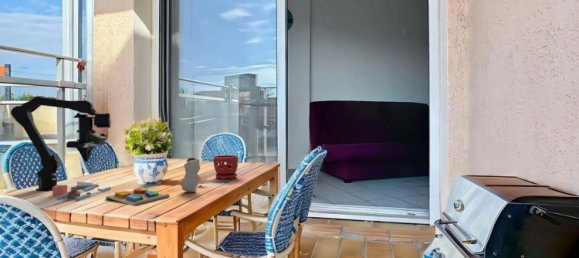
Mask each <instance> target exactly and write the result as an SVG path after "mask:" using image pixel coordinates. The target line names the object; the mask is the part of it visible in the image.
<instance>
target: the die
mask: <svg viewBox="0 0 579 258" xmlns="http://www.w3.org/2000/svg"><path fill="white" fill-rule="evenodd" d="M51 191H52V197H58V196H61V195H64V194H68V185H67V184H57V185H56V186H54V187H52V190H51Z"/></svg>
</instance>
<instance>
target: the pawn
mask: <svg viewBox="0 0 579 258" xmlns="http://www.w3.org/2000/svg"><path fill="white" fill-rule="evenodd" d="M67 194H68V198H67V200H69V199H74V200H75V198H76V197H79V196H81V193H80V191H78V190H76V189H70V191H67Z"/></svg>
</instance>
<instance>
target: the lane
mask: <svg viewBox="0 0 579 258" xmlns="http://www.w3.org/2000/svg"><path fill="white" fill-rule="evenodd" d="M95 188H96V187H95V186H91V187H87V188H80V190H77V191H80V194H83V193H85V194H83V195H80V196H79V197H76V198H75V199H74V201H76V202H77V201H81V200H85V199H87V198H91V197H94V196H96V195H99V194H103V193H106V192H109V191H111V190H112V188H111V186H107V187H103V188H98V189H97V190H95ZM92 190H93V191H92ZM91 191H92V192H91ZM64 198H65V199H68V193H67V194H64V195H61V196H56V200H58V201H61V199H62V200H64Z"/></svg>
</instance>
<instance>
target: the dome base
mask: <svg viewBox="0 0 579 258" xmlns="http://www.w3.org/2000/svg"><path fill="white" fill-rule="evenodd" d="M92 186H95V188H99V187H100V185H99V184H94V183H93V185H92ZM87 187H91V186H87ZM87 187H78V186H77V185H74V186H71V187H70V190H72V189H76V190H77V191H78V190H80V188H87Z"/></svg>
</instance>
